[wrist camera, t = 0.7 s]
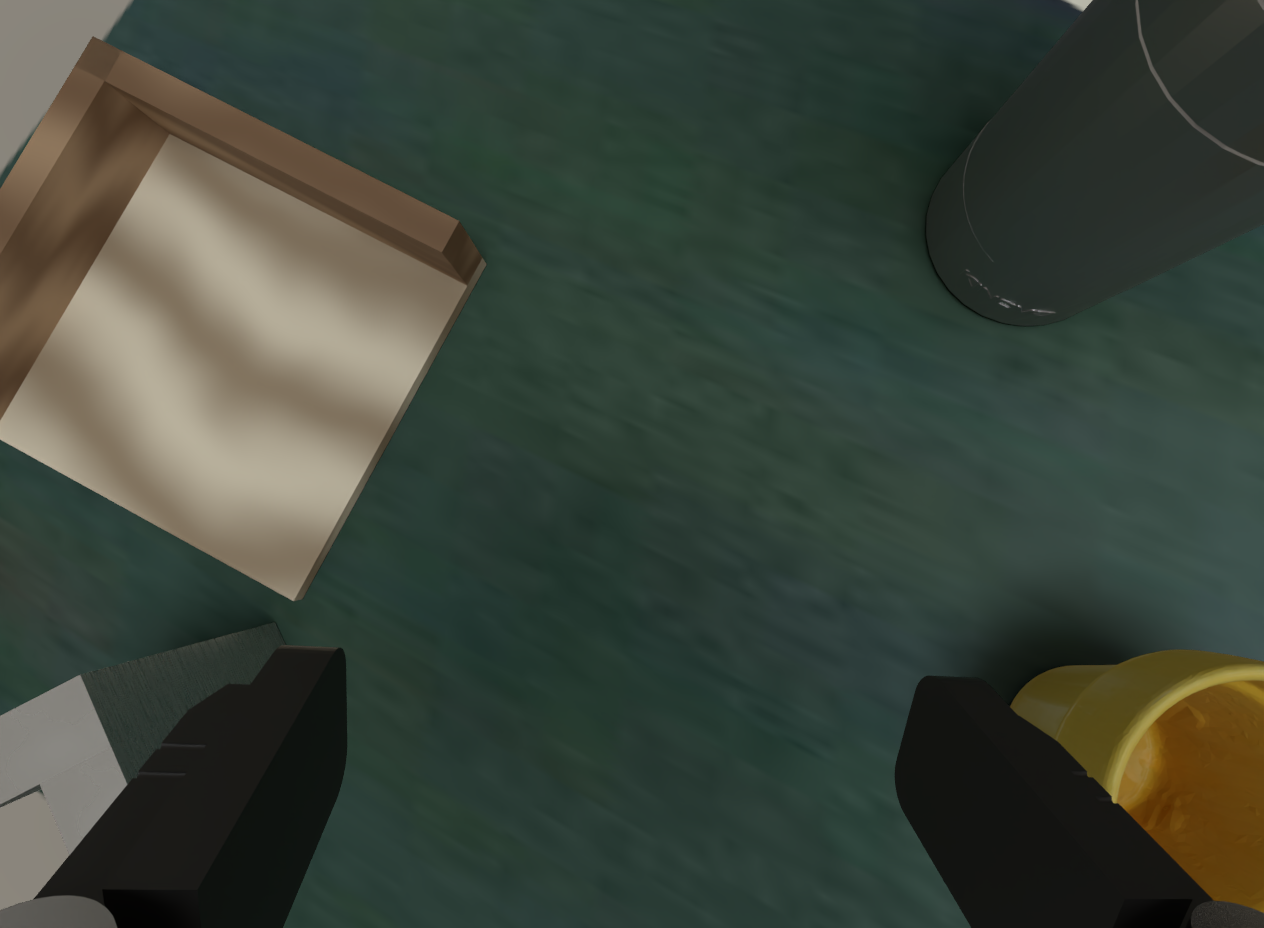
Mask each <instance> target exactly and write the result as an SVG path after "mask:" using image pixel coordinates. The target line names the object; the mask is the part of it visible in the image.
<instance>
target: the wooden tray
mask: <svg viewBox="0 0 1264 928" xmlns="http://www.w3.org/2000/svg"><path fill="white" fill-rule="evenodd" d="M486 265H487V264H486V263H485V261H484V259H483V258H482V256H481V255H480V253H479V252H478V250H477V248H476V247H475V245H474V244H473V242H472V240H471V239H470V237H469V236H468V234H467V233H466V231H465V229H464V228H463V226H462V225H461V223H460V221H458V220H456V219H454V218H452V217H450V216H448V215H446V214H444V213H442V212H440V211H438V210H436V209H434V208H432V207H430V206H428V205H426V204H424V203H422V202H421V201H419V200H417V199H415V198H413V197H411V196H409V195H407V194H405V193H403V192H401V191H399V190H397V189H395V188H393V187H391V186H389V185H387V184H385V183H383V182H381V181H379V180H377V179H375V178H373V177H371V176H369V175H367V174H365V173H363V172H361V171H359V170H357V169H355V168H353V167H351V166H349V165H347V164H345V163H343V162H341V161H339V160H337V159H335V158H333V157H331V156H329V155H327V154H325V153H323V152H321V151H319V150H317V149H315V148H313V147H311V146H309V145H307V144H305V143H303V142H302V141H300V140H298V139H296V138H294V137H292V136H290V135H288V134H286V133H284V132H282V131H280V130H278V129H276V128H274V127H272V126H270V125H268V124H266V123H264V122H262V121H260V120H258V119H256V118H254V117H252V116H250V115H248V114H246V113H244V112H242V111H240V110H238V109H236V108H234V107H232V106H230V105H228V104H226V103H224V102H222V101H220V100H218V99H216V98H214V97H212V96H210V95H208V94H206V93H204V92H202V91H200V90H198V89H196V88H194V87H192V86H190V85H188V84H186V83H185V82H183V81H181V80H179V79H177V78H175V77H173V76H171V75H169V74H167V73H165V72H163V71H161V70H159V69H157V68H155V67H153V66H151V65H149V64H147V63H145V62H143V61H141V60H139V59H137V58H135V57H133V56H131V55H129V54H127V53H125V52H123V51H121V50H119V49H117V48H115V47H113V46H111V45H109V44H107V43H105V42H103V41H101V40H99V39H97V38H95V37H92V39H91V40H90V42H89V44H88V45H87V47H86V48H85V50H84V52H83V53H82V55H81V57H80V58H79V60H78V62H77V63H76V65H75V67H74V68H73V70H72V72H71V73H70V75H69V77H68V78H67V80H66V82H65V83H64V85H63V86H62V88H61V90H60V91H59V93H58V95H57V96H56V98H55V100H54V101H53V103H52V105H51V106H50V108H49V110H48V111H47V113H46V115H45V116H44V118H43V119H42V121H41V123H40V124H39V126H38V128H37V129H36V131H35V133H34V134H33V136H32V138H31V139H30V141H29V143H28V144H27V146H26V148H25V149H24V151H23V153H22V154H21V156H20V157H19V159H18V161H17V162H16V164H15V166H14V167H13V169H12V171H11V172H10V174H9V176H8V177H7V179H6V181H5V182H4V184H3V186H2V187H1V189H0V440H2V441H4V442H6V443H8V444H9V445H11V446H13V447H15V448H17V449H19V450H20V451H22V452H24V453H26V454H28V455H29V456H31V457H33V458H35V459H37V460H38V461H40V462H42V463H44V464H46V465H48V466H49V467H51V468H53V469H55V470H57V471H58V472H60V473H62V474H64V475H66V476H68V477H69V478H71V479H73V480H75V481H77V482H78V483H80V484H82V485H84V486H86V487H87V488H89V489H91V490H93V491H95V492H97V493H98V494H100V495H102V496H104V497H106V498H107V499H109V500H111V501H113V502H115V503H116V504H118V505H120V506H122V507H124V508H126V509H127V510H129V511H131V512H133V513H135V514H136V515H138V516H140V517H142V518H144V519H146V520H147V521H149V522H151V523H153V524H155V525H156V526H158V527H160V528H162V529H164V530H165V531H167V532H169V533H171V534H173V535H175V536H176V537H178V538H180V539H182V540H184V541H185V542H187V543H189V544H191V545H193V546H194V547H196V548H198V549H200V550H202V551H204V552H205V553H207V554H209V555H211V556H213V557H214V558H216V559H218V560H220V561H222V562H224V563H225V564H227V565H229V566H231V567H233V568H234V569H236V570H238V571H240V572H242V573H243V574H245V575H247V576H249V577H251V578H253V579H254V580H256V581H258V582H260V583H262V584H263V585H265V586H267V587H269V588H271V589H273V590H274V591H276V592H278V593H280V594H282V595H283V596H285V597H287V598H289V599H291V600H292V601H296V600H301V599H303V597H304V595H305V593H306V592H307V590H308V588H309V586H310V584H311V583H312V581H313V579H314V577H315V575H316V573H317V572H318V570H319V568H320V566H321V564H322V563H323V561H324V559H325V557H326V555H327V554H328V552H329V550H330V548H331V546H332V544H333V543H334V541H335V539H336V537H337V535H338V534H339V532H340V530H341V528H342V526H343V524H344V523H345V521H346V519H347V517H348V515H349V514H350V512H351V510H352V508H353V506H354V504H355V503H356V501H357V499H358V497H359V495H360V494H361V492H362V490H363V488H364V486H365V484H366V483H367V481H368V479H369V477H370V475H371V474H372V472H373V470H374V468H375V466H376V464H377V463H378V461H379V459H380V457H381V455H382V454H383V452H384V450H385V448H386V446H387V444H388V443H389V441H390V439H391V437H392V435H393V434H394V432H395V430H396V428H397V426H398V424H399V423H400V421H401V419H402V417H403V415H404V414H405V412H406V410H407V408H408V406H409V404H410V403H411V401H412V399H413V397H414V395H415V394H416V392H417V390H418V388H419V386H420V384H421V383H422V381H423V379H424V377H425V375H426V374H427V372H428V370H429V368H430V366H431V364H432V363H433V361H434V359H435V357H436V355H437V354H438V352H439V350H440V348H441V346H442V344H443V343H444V341H445V339H446V337H447V335H448V334H449V332H450V330H451V328H452V326H453V324H454V323H455V321H456V319H457V317H458V315H459V314H460V312H461V310H462V308H463V306H464V304H465V303H466V301H467V299H468V297H469V295H470V294H471V292H472V290H473V288H474V286H475V284H476V283H477V281H478V279H479V277H480V275H481V274H482V272H483V270H484V268H485V266H486Z"/></svg>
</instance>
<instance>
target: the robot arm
mask: <svg viewBox="0 0 1264 928" xmlns="http://www.w3.org/2000/svg"><path fill="white" fill-rule="evenodd" d="M1263 224H1264V0H1093V1H1092V2H1091V3H1090V4H1089V5H1088V6H1087V8H1086V9H1085V10H1084V11H1083V12H1082V13H1081V15H1080V16H1079V17H1078V18H1077V19H1076V21H1075V22H1074V23H1073V24H1072V25H1071V26H1070V28H1069V29H1068V30H1067V31H1066V32H1065V33H1064V35H1063V36H1062V37H1061V38H1060V39H1059V40H1058V42H1057V43H1056V44H1055V45H1054V46H1053V47H1052V49H1051V50H1050V51H1049V52H1048V53H1047V55H1046V56H1045V57H1044V58H1043V59H1042V60H1041V62H1040V63H1039V64H1038V65H1037V66H1036V67H1035V69H1034V70H1033V71H1032V72H1031V73H1030V74H1029V76H1028V77H1027V78H1026V79H1025V80H1024V81H1023V83H1022V84H1021V85H1020V86H1019V87H1018V89H1017V90H1016V91H1015V92H1014V93H1013V94H1012V96H1011V97H1010V98H1009V99H1008V100H1007V101H1006V103H1005V104H1004V105H1003V106H1002V107H1001V108H1000V110H999V111H998V112H997V113H996V114H995V115H994V117H993V118H992V119H991V120H990V121H989V122H988V123H987V124H986V125H985V127H984V128H983V129H982V130H981V131H980V133H979V134H978V135H977V136H976V137H975V139H974V140H973V141H972V142H971V143H970V145H969V146H968V147H967V148H966V149H965V150H964V152H963V153H962V154H961V155H960V156H959V158H958V159H957V160H956V161H955V162H954V164H953V165H952V166H951V167H950V168H949V170H948V171H947V172H946V173H945V174H944V176H943V177H942V178H941V179H940V181H939V183H938V185H937V187H936V189H935V191H934V193H933V195H932V197H931V201H930V205H929V208H928V212H927V222H926V238H927V243H928V248H929V254H930V257H931V259H932V261H933V264H934V266H935V269H936V271H937V273H938V275H939V276H940V278H941V279H942V281H943V282H944V283H945V285H946V286H947V288H948V289H949V290H950V291H951V292H952V293H953V294H954V295H955V296H956V297H957V298H958V299H959V300H960V301H961V302H962V303H963V304H964V305H966V306H968V307H969V308H971V309H972V310H974V311H976V312H977V313H979V314H981V315H982V316H985V317H988V318H990V319H993V320H996V321H998V322H1001V323H1006V324H1013V325H1019V326H1034V325H1046V324H1050V323H1054V322H1057V321H1061V320H1065V319H1067V318H1069V317H1071V316H1073V315H1075V314H1077V313H1079V312H1081V311H1083V310H1085V309H1087V308H1090V307H1092V306H1094V305H1096V304H1098V303H1100V302H1102V301H1104V300H1106V299H1108V298H1111V297H1113V296H1115V295H1117V294H1119V293H1121V292H1123V291H1126V290H1128V289H1130V288H1133V287H1135V286H1137V285H1139V284H1141V283H1143V282H1145V281H1147V280H1149V279H1151V278H1153V277H1155V276H1157V275H1160V274H1162V273H1164V272H1166V271H1168V270H1170V269H1172V268H1174V267H1176V266H1178V265H1180V264H1182V263H1184V262H1186V261H1189V260H1191V259H1193V258H1195V257H1197V256H1199V255H1201V254H1203V253H1205V252H1207V251H1209V250H1211V249H1213V248H1215V247H1218V246H1220V245H1222V244H1224V243H1226V242H1228V241H1230V240H1232V239H1234V238H1236V237H1238V236H1240V235H1242V234H1245V233H1247V232H1249V231H1251V230H1253V229H1255V228H1257V227H1259V226H1261V225H1263ZM346 756H347V696H346V659H345V654H344V651H343V649H342V648H335V647H312V646H290V645H281V646H279V647H278V648H277V649H276V650H275V651H274V652H273V654H272V655H271V656H270V658H269V659H268V661H267V662H266V663H265V665H264V666H263V667H262V669H261V670H260V672H259V673H258V674H257V676H256V677H255V679H254V680H253V681H252V683H251V684H227V685H225V686H224V687H222V688H221V689H219V690H218V691H216V692H215V693H213V694H212V695H210V696H209V697H207V698H206V699H204V700H203V701H201V702H200V703H198V704H196V705H195V706H193V707H192V708H190V709H189V710H188V711H187V712H186V713H185V715H184V716H183V717H182V718H181V719H180V721H179V722H178V723H177V724H176V726H175V727H174V728H173V729H172V730H171V732H170V733H169V734H168V735H167V737H166V738H165V739H164V740H163V741H162V744H161V748H160V749H156V750H155V751H154V752H153V754H152V755H151V756H150V757H149V759H148V760H147V761H146V762H145V763H144V765H143V766H142V767H141V768H140V770H139V773H138V776H137V778H132V779H131V781H130V782H129V783H128V784H127V786H126V787H125V788H124V789H123V790H122V792H121V793H120V794H119V795H118V797H117V798H116V799H115V800H114V801H113V803H112V804H111V805H110V806H109V808H108V809H107V810H106V811H105V812H104V814H103V815H102V816H101V817H100V819H99V820H98V821H97V822H96V823H95V825H94V826H93V827H92V828H91V830H90V831H89V832H88V833H87V834H86V836H85V837H84V838H83V839H82V841H81V842H80V843H79V844H78V846H77V847H76V848H75V849H74V850H73V852H72V853H71V854H70V855H69V857H68V858H67V859H66V860H65V861H64V863H63V864H62V865H61V866H60V868H59V869H58V870H57V871H56V872H55V874H54V875H53V876H52V877H51V879H50V880H49V881H48V882H47V884H46V885H45V886H44V887H43V888H42V890H41V891H40V892H39V893H38V895H37V896H36V897H35V898H34V899H33V900H30V901H26V902H22V903H19V904H16V905H13V906H10V907H8V908H5V909H2V910H0V928H283V926H284V924H285V921H286V919H287V916H288V914H289V912H290V909H291V907H292V904H293V902H294V900H295V897H296V895H297V893H298V890H299V888H300V885H301V883H302V881H303V878H304V876H305V873H306V871H307V869H308V866H309V864H310V861H311V859H312V857H313V854H314V852H315V850H316V847H317V845H318V842H319V840H320V838H321V835H322V833H323V830H324V828H325V826H326V823H327V821H328V818H329V816H330V814H331V811H332V809H333V807H334V804H335V802H336V799H337V797H338V794H339V791H340V787H341V784H342V780H343V775H344V770H345V764H346ZM895 785H896V792H897V796H898V800H899V803H900V805H901V808H902V810H903V812H904V814H905V816H906V817H907V819H908V821H909V822H910V824H911V826H912V827H913V829H914V831H915V833H916V834H917V836H918V838H919V839H920V841H921V843H922V844H923V846H924V848H925V850H926V851H927V853H928V855H929V856H930V858H931V860H932V861H933V863H934V865H935V867H936V868H937V870H938V872H939V873H940V875H941V877H942V878H943V880H944V882H945V884H946V885H947V887H948V889H949V890H950V892H951V894H952V895H953V897H954V899H955V901H956V902H957V904H958V906H959V907H960V909H961V911H962V912H963V914H964V916H965V918H966V919H967V921H968V923H969V924H970V926H971V928H1264V913H1263V912H1261V911H1258V910H1255V909H1253V908H1250V907H1247V906H1244V905H1240V904H1237V903H1231V902H1226V901H1214V900H1213V899H1212V898H1211V897H1210V896H1209V895H1208V894H1207V893H1206V892H1205V891H1204V890H1203V889H1202V888H1201V887H1200V886H1199V885H1198V884H1197V883H1196V882H1195V881H1194V880H1193V879H1192V878H1191V877H1190V876H1189V875H1188V874H1187V873H1186V872H1185V871H1184V869H1183V868H1182V867H1181V866H1180V865H1179V864H1178V863H1177V862H1176V861H1175V860H1174V859H1173V858H1172V857H1171V856H1170V855H1169V854H1168V853H1167V852H1166V851H1165V850H1164V849H1163V848H1162V847H1161V846H1160V845H1159V844H1158V843H1157V842H1156V841H1155V840H1154V839H1153V838H1152V837H1151V836H1150V835H1149V834H1148V833H1147V832H1146V831H1145V830H1144V829H1143V828H1142V827H1141V826H1140V825H1139V824H1138V823H1137V822H1136V821H1135V820H1134V819H1133V818H1132V817H1131V816H1130V814H1129V813H1128V812H1127V811H1126V810H1125V809H1124V808H1123V807H1122V806H1121V805H1120V804H1119V803H1113V801H1112V796H1111V795H1110V794H1109V793H1108V792H1107V791H1106V790H1105V789H1104V788H1103V787H1102V786H1101V785H1100V784H1099V783H1098V782H1097V781H1096V780H1095V779H1094V778H1093V777H1088V776H1087V771H1086V770H1085V769H1084V768H1083V767H1082V766H1081V765H1080V764H1079V763H1078V762H1077V761H1076V759H1075V758H1074V757H1073V756H1072V755H1071V754H1070V753H1069V752H1068V751H1067V750H1066V749H1065V748H1064V747H1063V746H1062V745H1061V744H1060V743H1059V742H1058V741H1056V740H1055V739H1053V738H1052V737H1050V736H1049V735H1047V734H1046V733H1044V732H1043V731H1041V730H1040V729H1038V728H1037V727H1036V726H1034V725H1033V724H1031V723H1030V722H1028V721H1027V720H1025V719H1024V718H1022V717H1021V716H1018V715H1017V714H1016V713H1015V712H1014V711H1013V710H1012V709H1011V707H1010V706H1009V705H1008V704H1007V703H1006V702H1005V701H1004V700H1003V699H1002V698H1001V697H1000V696H999V695H998V694H997V693H996V692H995V691H994V690H993V689H992V688H991V686H990V685H989V684H987V683H986V682H985V681H984V680H982V679H979V678H968V677H946V676H926V677H924V678H923V679H921V681H920V682H919V683H918V685H917V688H916V691H915V694H914V698H913V701H912V705H911V709H910V713H909V716H908V720H907V724H906V727H905V731H904V735H903V738H902V742H901V746H900V750H899V753H898V757H897V761H896V766H895Z"/></svg>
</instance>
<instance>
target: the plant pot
mask: <svg viewBox="0 0 1264 928" xmlns="http://www.w3.org/2000/svg"><path fill="white" fill-rule="evenodd" d="M1010 707H1011V709H1012V710H1013V711H1014V712H1015V713H1016V714H1017V715H1018V716H1021V717H1022V718H1024V719H1025V720H1027V721H1028V722H1030V723H1031V724H1033V725H1034V726H1036V727H1037V728H1038V729H1040V730H1041V731H1043V732H1044V733H1046V734H1047V735H1049V736H1050V737H1052V738H1053V739H1055V740H1056V741H1058V742H1059V743H1060V744H1061V745H1062V746H1063V747H1064V748H1065V749H1066V750H1067V751H1068V752H1069V753H1070V754H1071V755H1072V756H1073V757H1074V758H1075V759H1076V761H1077V762H1078V763H1079V764H1080V765H1081V766H1082V767H1083V768H1084V769H1085V770H1086V771H1087V776H1088V777H1093V778H1094V779H1095V780H1096V781H1097V782H1098V783H1099V784H1100V785H1101V786H1102V787H1103V788H1104V789H1105V790H1106V791H1107V792H1108V793H1109V794H1110V795H1111V796H1112V801H1113V803H1119V804H1120V805H1121V806H1122V807H1123V808H1124V809H1125V810H1126V811H1127V812H1128V813H1129V814H1130V816H1131V817H1132V818H1133V819H1134V820H1135V821H1136V822H1137V823H1138V824H1139V825H1140V826H1141V827H1142V828H1143V829H1144V830H1145V831H1146V832H1147V833H1148V834H1149V835H1150V836H1151V837H1152V838H1153V839H1154V840H1155V841H1156V842H1157V843H1158V844H1159V845H1160V846H1161V847H1162V848H1163V849H1164V850H1165V851H1166V852H1167V853H1168V854H1169V855H1170V856H1171V857H1172V858H1173V859H1174V860H1175V861H1176V862H1177V863H1178V864H1179V865H1180V866H1181V867H1182V868H1183V869H1184V871H1185V872H1186V873H1187V874H1188V875H1189V876H1190V877H1191V878H1192V879H1193V880H1194V881H1195V882H1196V883H1197V884H1198V885H1199V886H1200V887H1201V888H1202V889H1203V890H1204V891H1205V892H1206V893H1207V894H1208V895H1209V896H1210V897H1211V898H1212V899H1213V900H1214V901H1226V902H1231V903H1237V904H1240V905H1244V906H1247V907H1250V908H1253V909H1255V910H1258V911H1261V912H1263V913H1264V662H1263V661H1258V660H1253V659H1248V658H1243V657H1238V656H1233V655H1228V654H1221V653H1214V652H1206V651H1199V650H1166V651H1158V652H1153V653H1149V654H1144V655H1141V656H1138V657H1134V658H1131V659H1129V660H1127V661H1124V662H1122V663H1120V664H1118V665H1071V666H1063V667H1058V668H1054V669H1051V670H1048V671H1046V672H1044V673H1042V674H1040V675H1038V676H1036V677H1035V678H1033V679H1032V680H1031V681H1029V682H1028V683H1027V684H1026V685H1025V686H1024V687H1023V688H1022V689H1021V690H1020V691H1019V693H1018V694H1017V695H1016V697H1015V698H1014V700H1013V702H1012V703H1011V705H1010Z"/></svg>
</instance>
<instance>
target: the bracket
mask: <svg viewBox="0 0 1264 928" xmlns="http://www.w3.org/2000/svg"><path fill="white" fill-rule="evenodd" d="M281 645H285V642H284V640H283V638H282V636H281V634H280V632H279V629H278V627H277V625H276V623H275V622H274V623H270V624H266V625H263V626H259V627H255V628H251V629H248V630H244V631H240V632H237V633H233V634H229V635H226V636H222V637H218V638H214V639H211V640H207V641H203V642H200V643H196V644H192V645H189V646H185V647H181V648H177V649H174V650H170V651H166V652H163V653H159V654H155V655H151V656H148V657H144V658H140V659H137V660H133V661H129V662H126V663H122V664H118V665H114V666H111V667H107V668H103V669H100V670H96V671H92V672H89V673H85V674H81V675H79V676H77V677H75V678H73V679H71V680H69V681H67V682H65V683H63V684H61V685H59V686H57V687H55V688H54V689H52V690H50V691H48V692H46V693H44V694H42V695H40V696H38V697H36V698H34V699H32V700H30V701H28V702H26V703H24V704H23V705H21V706H19V707H17V708H15V709H13V710H11V711H9V712H7V713H5V714H3V715H1V716H0V807H2V806H5V805H7V804H9V803H12V802H14V801H16V800H18V799H21V798H23V797H25V796H27V795H30V794H32V793H34V792H36V791H39V790H41V789H42V791H43V793H44V796H45V798H46V800H47V803H48V805H49V808H50V810H51V812H52V815H53V817H54V820H55V822H56V824H57V827H58V829H59V831H60V834H61V836H62V838H63V841H64V843H65V846H66V848H67V851H68V853H69V855H70V854H71V853H72V852H73V850H74V849H75V848H76V847H77V846H78V844H79V843H80V842H81V841H82V839H83V838H84V837H85V836H86V834H87V833H88V832H89V831H90V830H91V828H92V827H93V826H94V825H95V823H96V822H97V821H98V820H99V819H100V817H101V816H102V815H103V814H104V812H105V811H106V810H107V809H108V808H109V806H110V805H111V804H112V803H113V801H114V800H115V799H116V798H117V797H118V795H119V794H120V793H121V792H122V790H123V789H124V788H125V787H126V786H127V784H128V783H129V782H130V781H131V779H132V778H137V776H138V773H139V770H140V768H141V767H142V766H143V765H144V763H145V762H146V761H147V760H148V759H149V757H150V756H151V755H152V754H153V752H154V751H155V750H156V749H160V748H161V744H162V741H163V740H164V739H165V738H166V737H167V735H168V734H169V733H170V732H171V730H172V729H173V728H174V727H175V726H176V724H177V723H178V722H179V721H180V719H181V718H182V717H183V716H184V715H185V713H186V712H187V711H188V710H189V709H190V708H192V707H193V706H195V705H196V704H198V703H200V702H201V701H203V700H204V699H206V698H207V697H209V696H210V695H212V694H213V693H215V692H216V691H218V690H219V689H221V688H222V687H224V686H225V685H227V684H251V683H252V681H253V680H254V679H255V677H256V676H257V674H258V673H259V672H260V670H261V669H262V667H263V666H264V665H265V663H266V662H267V661H268V659H269V658H270V656H271V655H272V654H273V652H274V651H275V650H276V649H277V648H278V647H279V646H281Z"/></svg>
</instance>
